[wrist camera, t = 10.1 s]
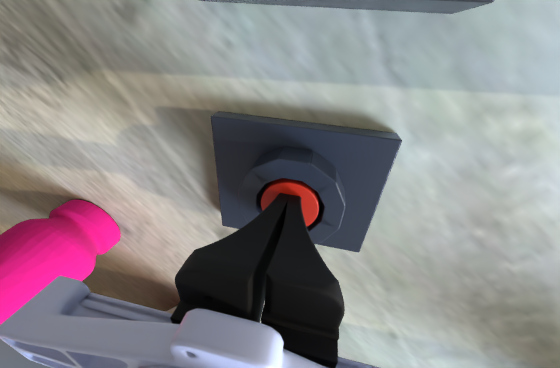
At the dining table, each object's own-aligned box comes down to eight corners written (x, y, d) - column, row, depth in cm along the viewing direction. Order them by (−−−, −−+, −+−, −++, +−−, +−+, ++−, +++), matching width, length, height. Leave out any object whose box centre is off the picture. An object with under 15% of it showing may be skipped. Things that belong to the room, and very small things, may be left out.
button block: (397, 132, 13) (413, 153, 10) (357, 241, 18) (362, 273, 15) (218, 111, 14) (194, 124, 12) (227, 216, 19) (212, 242, 17)
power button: (324, 174, 14) (323, 188, 12) (315, 218, 15) (314, 234, 14) (267, 166, 14) (261, 178, 13) (266, 209, 16) (260, 224, 15)
